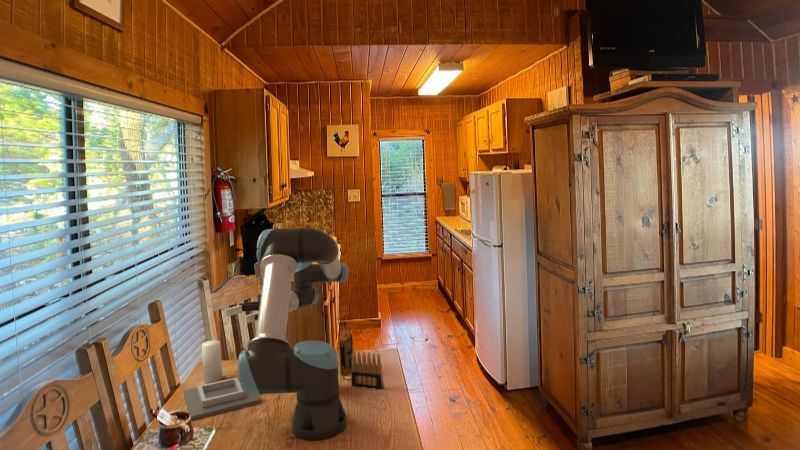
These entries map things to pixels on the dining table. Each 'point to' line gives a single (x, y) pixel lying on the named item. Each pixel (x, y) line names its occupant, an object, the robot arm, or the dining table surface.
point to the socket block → (217, 398)
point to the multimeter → (345, 351)
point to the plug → (212, 361)
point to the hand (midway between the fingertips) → (235, 316)
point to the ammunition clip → (367, 371)
